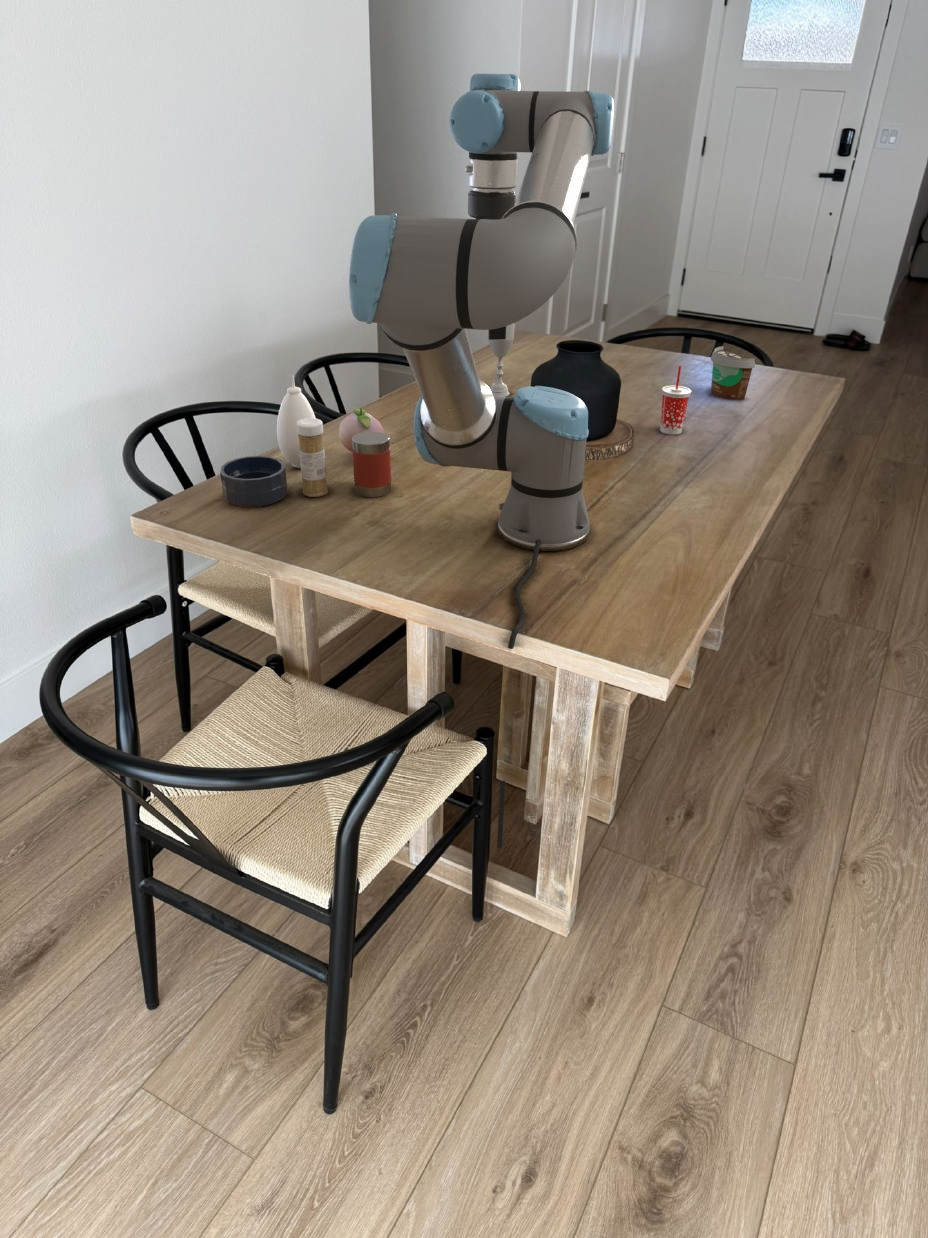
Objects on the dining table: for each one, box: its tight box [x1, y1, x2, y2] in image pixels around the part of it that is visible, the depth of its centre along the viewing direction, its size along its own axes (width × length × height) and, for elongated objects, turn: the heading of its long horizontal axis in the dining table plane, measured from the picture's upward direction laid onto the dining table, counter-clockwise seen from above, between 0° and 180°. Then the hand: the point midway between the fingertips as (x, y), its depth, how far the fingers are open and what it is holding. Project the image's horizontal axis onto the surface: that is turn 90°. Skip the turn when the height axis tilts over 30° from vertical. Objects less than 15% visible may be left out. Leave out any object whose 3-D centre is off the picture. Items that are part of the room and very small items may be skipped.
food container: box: [710, 345, 756, 401], centre depth 210 cm, size 12×6×10 cm, turn 25°
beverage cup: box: [659, 365, 692, 435], centre depth 187 cm, size 6×6×14 cm
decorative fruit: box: [338, 407, 385, 453], centre depth 173 cm, size 9×8×10 cm
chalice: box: [486, 323, 516, 397], centre depth 206 cm, size 7×7×18 cm
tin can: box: [351, 431, 392, 498], centre depth 159 cm, size 7×7×10 cm
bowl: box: [219, 455, 289, 508], centre depth 158 cm, size 11×11×6 cm
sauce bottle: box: [276, 373, 317, 469], centre depth 166 cm, size 8×8×18 cm
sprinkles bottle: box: [296, 417, 328, 498], centre depth 157 cm, size 5×5×13 cm
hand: (488, 328), depth 149 cm, fingers open, 13 cm apart
